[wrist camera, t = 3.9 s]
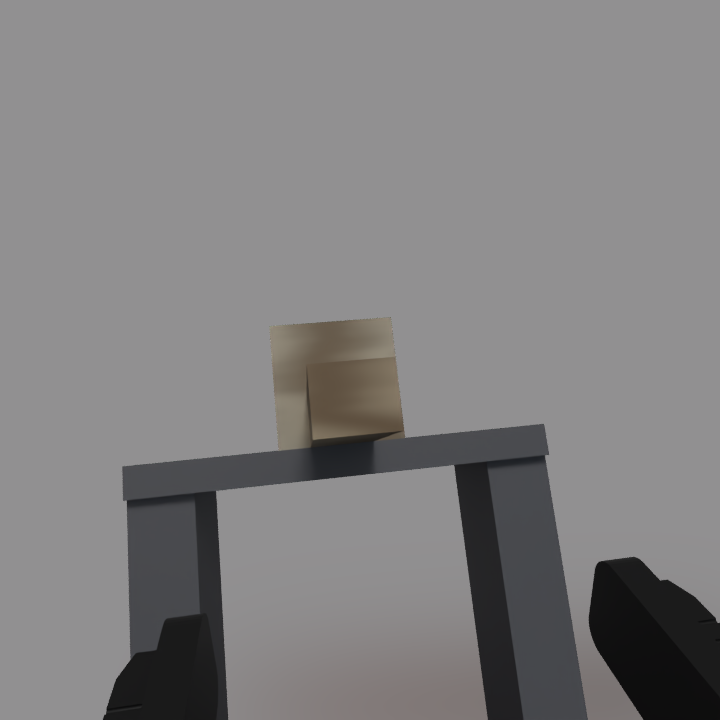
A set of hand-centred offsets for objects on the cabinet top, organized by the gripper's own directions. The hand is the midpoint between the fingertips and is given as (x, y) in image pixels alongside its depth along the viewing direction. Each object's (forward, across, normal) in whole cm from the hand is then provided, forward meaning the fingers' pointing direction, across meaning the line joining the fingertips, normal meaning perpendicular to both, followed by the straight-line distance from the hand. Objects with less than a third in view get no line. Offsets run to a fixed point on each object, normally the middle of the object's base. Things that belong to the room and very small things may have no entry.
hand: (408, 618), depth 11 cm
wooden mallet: (+13, 0, +3) cm, 14 cm away
